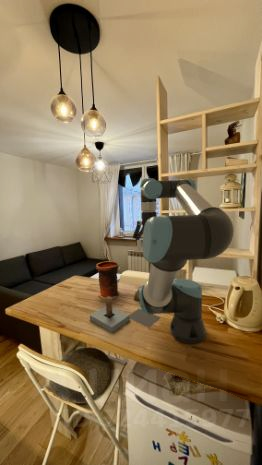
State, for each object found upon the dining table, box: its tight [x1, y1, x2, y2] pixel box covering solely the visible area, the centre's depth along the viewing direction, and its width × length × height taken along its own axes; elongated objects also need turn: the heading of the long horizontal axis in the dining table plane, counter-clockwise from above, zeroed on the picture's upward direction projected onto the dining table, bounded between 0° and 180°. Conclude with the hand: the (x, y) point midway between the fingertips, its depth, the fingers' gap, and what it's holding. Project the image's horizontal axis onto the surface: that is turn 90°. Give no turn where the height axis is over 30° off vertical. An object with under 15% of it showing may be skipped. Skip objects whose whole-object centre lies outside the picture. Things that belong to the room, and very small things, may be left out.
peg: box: [105, 296, 113, 318], centre depth 96 cm, size 3×3×12 cm
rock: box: [133, 288, 140, 301], centre depth 117 cm, size 11×9×10 cm
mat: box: [129, 308, 162, 328], centre depth 98 cm, size 14×10×1 cm
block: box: [89, 305, 131, 333], centre depth 97 cm, size 16×12×3 cm
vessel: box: [95, 260, 120, 300], centre depth 125 cm, size 14×14×20 cm
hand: (150, 253), depth 99 cm, fingers open, 13 cm apart
